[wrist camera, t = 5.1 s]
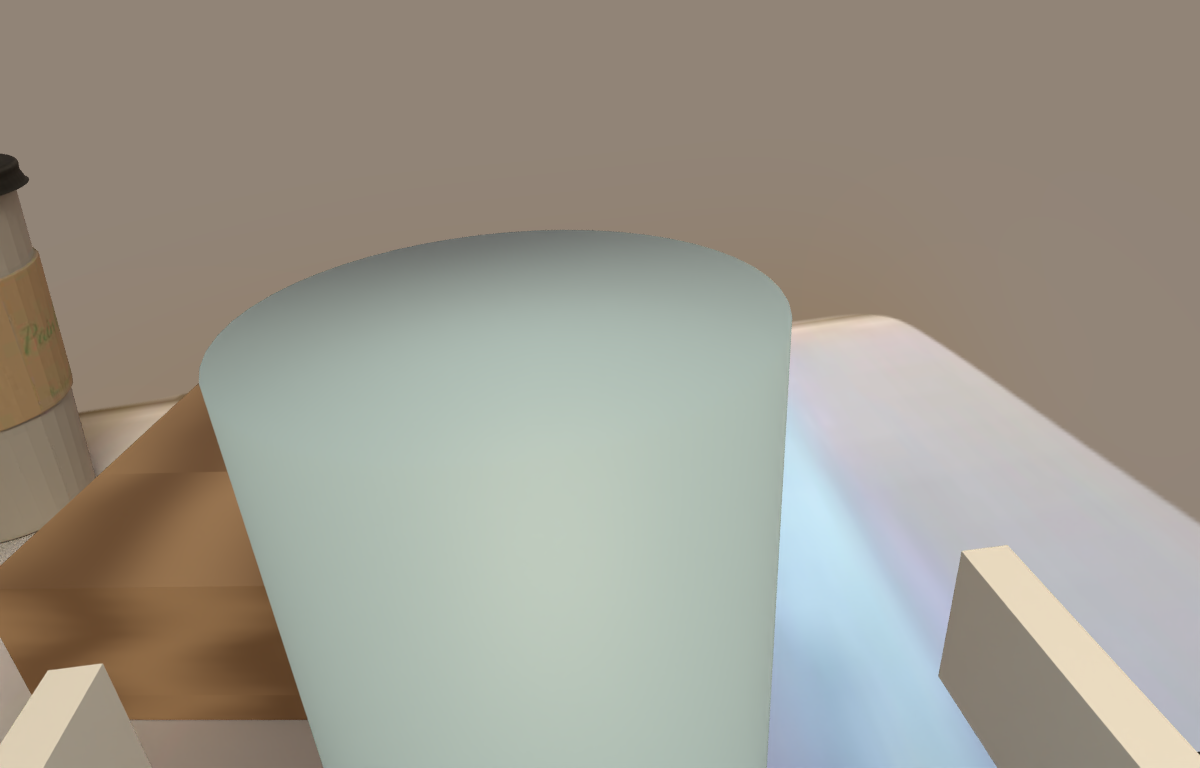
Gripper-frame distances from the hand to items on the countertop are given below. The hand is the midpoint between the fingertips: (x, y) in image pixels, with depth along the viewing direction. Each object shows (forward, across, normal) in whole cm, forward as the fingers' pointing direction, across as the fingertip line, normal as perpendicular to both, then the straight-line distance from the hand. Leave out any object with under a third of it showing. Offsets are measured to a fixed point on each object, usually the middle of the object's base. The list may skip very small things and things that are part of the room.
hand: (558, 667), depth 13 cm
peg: (-2, 0, -9) cm, 9 cm away
